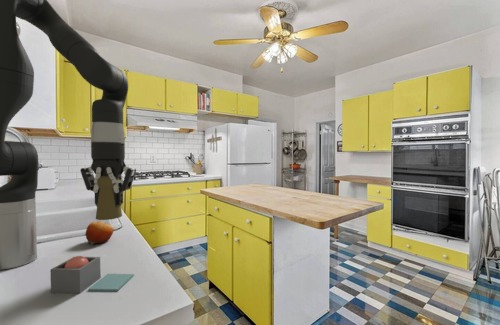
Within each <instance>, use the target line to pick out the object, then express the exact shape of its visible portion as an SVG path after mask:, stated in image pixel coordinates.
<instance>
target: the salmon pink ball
mask: <svg viewBox="0 0 500 325" xmlns="http://www.w3.org/2000/svg"><path fill="white" fill-rule="evenodd" d="M85 257H86V256H83V255H77V256H72V257H71V258H69V259H70V260H69V259H68V261H67V260H66V261H67V263H66V264H65V266H64V268H81V267H82V266H84V265H86V264H87V263H89V261H88V259H87V258H85Z"/></svg>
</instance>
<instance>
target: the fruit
mask: <svg viewBox="0 0 500 325" xmlns="http://www.w3.org/2000/svg"><path fill="white" fill-rule="evenodd" d="M113 234H114V228H113V226H112V225H111V223H110V224H109V223H106V222H103V221H101V220H98V221H93V222H90V223H89V224H88V225H87V227H86V230H85V238H86V240H87V243H90V247H92V246H93V245H95V244H101V243H107V242H108V241H109V240H111V238H112V236H113Z"/></svg>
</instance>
